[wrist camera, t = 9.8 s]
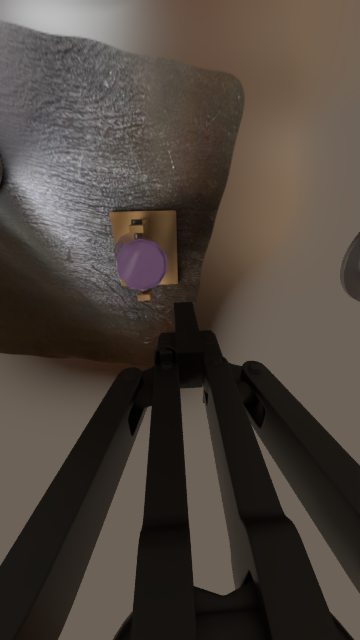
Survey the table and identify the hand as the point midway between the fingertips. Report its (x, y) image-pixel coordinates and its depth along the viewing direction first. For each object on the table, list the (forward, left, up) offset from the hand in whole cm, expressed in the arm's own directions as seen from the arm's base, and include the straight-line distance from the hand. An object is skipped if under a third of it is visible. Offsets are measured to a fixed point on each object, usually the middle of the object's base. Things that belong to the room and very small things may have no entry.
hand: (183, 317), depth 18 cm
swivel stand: (+5, 0, -28) cm, 29 cm away
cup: (+5, 0, -16) cm, 17 cm away
